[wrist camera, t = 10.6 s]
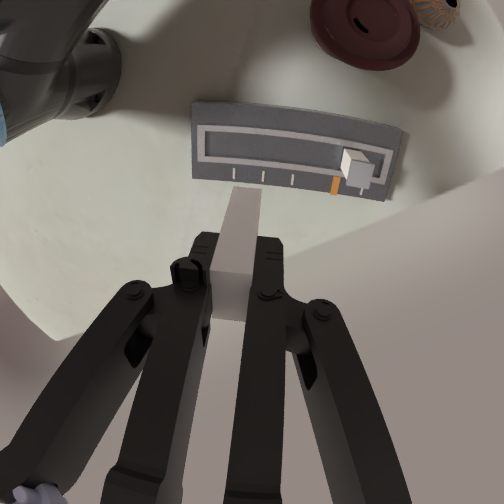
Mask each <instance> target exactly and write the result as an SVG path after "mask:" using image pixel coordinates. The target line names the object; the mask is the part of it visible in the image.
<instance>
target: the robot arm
mask: <svg viewBox="0 0 504 504" xmlns="http://www.w3.org/2000/svg"><path fill="white" fill-rule="evenodd" d="M108 1H109V0H0V147H2V146H4V145H5V144H6V143H7V142H9V141H11V140H13V139H14V138H16V137H18V136H20V135H22V134H23V133H25V132H27V131H29V130H31V129H33V128H35V127H37V126H39V125H41V124H43V123H45V122H47V121H50V120H52V119H66V120H76V119H81V118H84V117H87V116H89V115H91V114H94V113H95V112H97V111H99V110H100V109H101V108H103V107H104V106H105V105H106V104H107V102H108V101H109V100H110V98H111V97H112V95H113V94H114V92H115V90H116V87H117V85H118V82H119V78H120V73H121V57H120V52H119V49H118V46H117V44H116V42H115V41H114V40H113V38H112V37H111V36H110V35H109V34H107V33H106V32H104V31H102V30H99V29H93V28H88V27H89V25H90V24H91V23H92V21H93V20H94V19H95V17H96V16H97V15H98V13H99V12H100V11H101V10H102V8H103V7H104V6H105V5H106V3H107V2H108ZM261 192H262V189H257V188H246V187H233V191H232V194H231V197H230V201H229V204H228V207H227V211H226V214H225V217H224V221H223V224H222V228H221V231H220V233H213V232H201V233H200V234H199V235H198V236H197V237H196V238H195V240H194V243H193V246H192V248H191V251H190V253H189V256H188V257H183V258H179V259H177V260H176V261H174V262H173V263H172V265H171V266H170V270H171V276H172V282H173V284H171V285H168V286H164V287H158V288H151V287H150V285H149V284H148V283H147V282H145V281H141V280H134V281H130V282H128V283H126V284H125V285H124V286H122V287H121V288H120V290H119V291H118V292H117V293H116V294H115V296H114V297H113V298H112V299H111V300H110V302H109V303H108V304H107V305H106V306H105V308H104V309H103V310H102V311H101V313H100V314H99V315H98V316H97V318H96V319H95V320H94V321H93V323H92V324H91V325H90V327H89V328H88V329H87V330H86V332H85V333H84V334H83V336H82V337H81V338H80V339H79V341H78V342H77V343H76V345H75V346H74V347H73V349H72V350H71V352H70V353H69V354H68V356H67V357H66V358H65V360H64V361H63V362H62V364H61V365H60V367H59V368H58V369H57V371H56V372H55V374H54V375H53V376H52V378H51V379H50V381H49V382H48V384H47V385H46V387H45V388H44V390H43V391H42V393H41V394H40V396H39V397H38V399H37V400H36V402H35V403H34V405H33V406H32V408H31V409H30V411H29V413H28V414H27V416H26V417H25V419H24V421H23V422H22V424H21V426H20V427H19V429H18V431H17V432H16V434H15V436H14V437H13V439H12V441H11V443H10V444H9V445H8V446H7V447H5V448H4V449H3V450H1V451H0V502H1V503H4V504H68V502H67V500H66V499H65V498H64V497H63V495H64V494H65V493H66V492H67V491H68V490H69V489H70V488H71V487H72V486H73V485H74V484H75V483H76V481H77V479H78V478H79V476H80V475H81V473H82V471H83V470H84V468H85V466H86V464H87V463H88V461H89V459H90V457H91V456H92V454H93V452H94V450H95V448H96V447H97V445H98V443H99V442H100V440H101V438H102V436H103V435H104V433H105V431H106V429H107V428H108V426H109V424H110V423H111V421H112V419H113V418H114V416H115V414H116V413H117V411H118V409H119V407H120V406H121V404H122V402H123V401H124V399H125V397H126V396H127V394H128V392H129V391H130V389H131V388H132V386H133V384H134V383H135V381H136V379H137V378H138V376H139V374H140V373H141V371H142V370H143V371H142V374H141V378H140V381H139V385H138V388H137V391H136V394H135V398H134V401H133V405H132V408H131V412H130V416H129V419H128V423H127V427H126V431H125V435H124V438H123V443H122V446H121V450H120V454H119V458H118V461H117V463H116V465H115V466H113V467H112V468H111V469H110V470H109V472H108V474H107V476H106V479H105V482H104V487H103V492H102V497H101V502H100V504H181V503H182V495H183V488H182V479H183V473H184V467H185V461H186V455H187V449H188V444H189V438H190V433H191V427H192V421H193V416H194V410H195V405H196V400H197V394H198V389H199V384H200V379H201V374H202V368H203V363H204V358H205V353H206V348H207V343H208V338H209V333H210V318H211V314H212V317H213V318H217V319H225V320H234V321H244V322H246V324H245V333H244V340H243V349H242V357H241V365H240V374H239V382H238V391H237V398H236V407H235V415H234V424H233V431H232V440H231V448H230V456H229V464H228V472H227V480H226V488H225V494H224V501H223V504H282V498H281V493H280V484H281V467H282V448H283V427H284V398H285V397H284V396H285V352H286V351H289V352H292V355H293V359H294V363H295V366H296V369H297V373H298V376H299V380H300V384H301V387H302V391H303V394H304V398H305V402H306V405H307V408H308V412H309V416H310V420H311V423H312V427H313V431H314V434H315V438H316V442H317V445H318V449H319V452H320V456H321V459H322V464H323V467H324V471H325V475H326V478H327V482H328V486H329V489H330V493H331V497H332V501H333V504H412V501H411V498H410V495H409V491H408V488H407V485H406V482H405V478H404V475H403V472H402V469H401V466H400V463H399V460H398V457H397V454H396V451H395V448H394V445H393V442H392V440H391V437H390V434H389V431H388V429H387V426H386V423H385V420H384V418H383V415H382V412H381V410H380V407H379V404H378V402H377V399H376V397H375V394H374V391H373V389H372V386H371V384H370V381H369V379H368V376H367V374H366V371H365V369H364V367H363V364H362V362H361V359H360V357H359V355H358V352H357V350H356V347H355V345H354V343H353V340H352V338H351V336H350V334H349V331H348V329H347V327H346V324H345V322H344V320H343V318H342V316H341V313H340V311H339V309H338V308H337V307H336V305H334V304H333V303H332V302H330V301H328V300H325V299H315V300H311V301H310V302H309V303H307V304H306V303H303V302H300V301H298V300H296V299H294V298H292V297H291V296H289V295H288V293H287V292H286V290H285V289H284V276H283V275H284V269H283V266H284V265H283V244H282V243H281V241H280V239H279V238H273V237H263V236H257V235H258V225H259V214H260V203H261Z"/></svg>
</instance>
